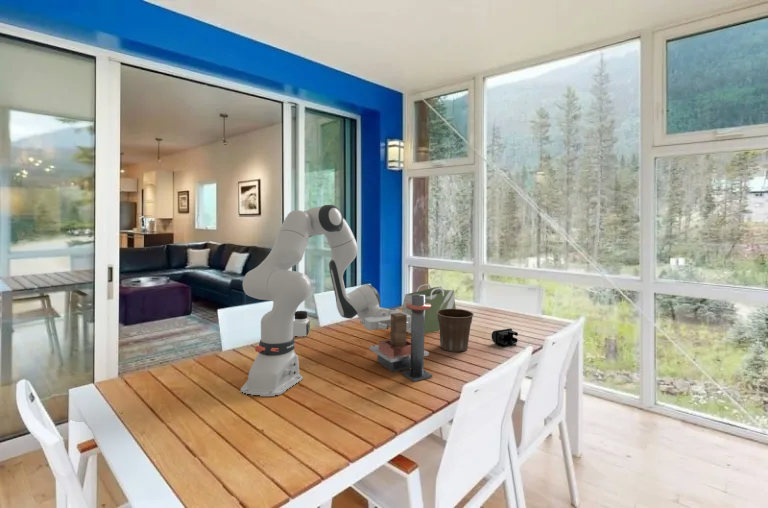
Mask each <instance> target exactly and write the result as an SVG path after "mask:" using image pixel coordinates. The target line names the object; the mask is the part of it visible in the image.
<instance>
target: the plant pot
mask: <svg viewBox="0 0 768 508" xmlns="http://www.w3.org/2000/svg"><path fill="white" fill-rule="evenodd" d="M437 314H438V322H439V330H440V331H439V343H440V344H439V345H440V348H441V349H443V350H444V351H446V350H447V352H450V351H452V353H460V352H461V351H462V352H466V351H467V350H468V349H469V340H470V339H469V338H470V332H471V325H472V322H473V318H474V317H473V316H474V312H472V311H470V310H466V309H462V308H461V309H460V308H456V309H442V310H438V311H437Z"/></svg>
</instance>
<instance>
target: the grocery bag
mask: <svg viewBox="0 0 768 508" xmlns="http://www.w3.org/2000/svg"><path fill="white" fill-rule="evenodd" d="M424 286H427V287H428V288H427V289H424V290H420V289H421V288H422V287H424ZM412 294H424V295H425V303H429V304H431V309H429V310H425V327H424V333H426V334H429V333H428V332H431V333H435V332H434V331H437V332H440V331H439V322H438V314H437V311H438V310H442V309H457V307H456V302H455V301H456V300H455V299H456V297H455V290H454V289H444V288H443V287H442V286H434V287H431V285H430V284H429V283H425V284H420V285H419V286H418V287H417V289H416V291H414V292H411V293H410V292H409V293H405V294H404V299H403V302H402V310H401V312H403V313H406V314H408V315H410V316H411V312H412V310H410V309H407V308H406V303H409V302H412ZM406 332H409V333H411V324H410V325H409V326H407V327H406ZM409 333H408V334H409Z"/></svg>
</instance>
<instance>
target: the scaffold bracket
mask: <svg viewBox="0 0 768 508" xmlns="http://www.w3.org/2000/svg"><path fill="white" fill-rule="evenodd" d="M406 308H407V309H410V310H412V312H411V334H410V339H408V338H406V346H402V347H396V348H395V347H393V346H391V345H390V339H384V340H379V341H378V344H376V345H370V346H369V347H368V349H369V351H372V352H373V353H375V354H376V355H377V363H378V362H379V363H380V364H379V363H378V364H379V365H381V364H382V365H383V367H384V366H385V367H384V368H385V369H387V368H388V369H387V370H389V371H390V370H391V371H390V372H392V373H396V372H395V371H397V372H401V375H403V376H404V375H405V376H404V377H405V378H407V377H408V378H407V379H408V380H410V379H411V381H412V382H419V381H423V380H422V379H424V380H427V379H426V378H428V379H431V378H430V377H432V378H433V374H432V373H430V372H428V371H426V370H425V369H424V367H425V365H424V364H425V357H426V356H427V357H428V356H430V352H429V351H427V350H425V334H424V327H425V310H429V309H431V304H429V303H425V295H424V294H412V302H409V303H406ZM382 365H381V366H382ZM410 368H411V369H410ZM406 369H407V370H406ZM400 370H402V371H400Z"/></svg>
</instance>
